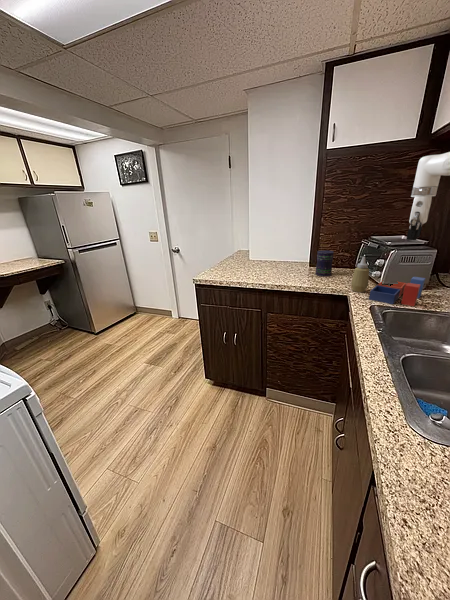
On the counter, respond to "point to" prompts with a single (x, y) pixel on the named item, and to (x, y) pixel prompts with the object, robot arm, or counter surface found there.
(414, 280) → the blue block
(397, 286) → the red bin
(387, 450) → the counter surface
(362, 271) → the squeeze bottle
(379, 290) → the blue bin
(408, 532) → the counter surface
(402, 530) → the counter surface
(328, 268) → the storage jar
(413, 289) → the red block
